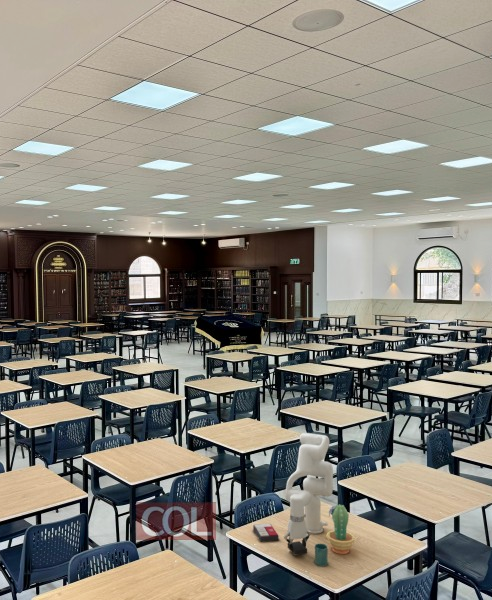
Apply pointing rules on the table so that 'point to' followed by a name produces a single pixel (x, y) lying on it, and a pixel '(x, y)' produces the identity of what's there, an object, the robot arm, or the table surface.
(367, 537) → the table surface
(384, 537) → the table surface
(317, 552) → the cup
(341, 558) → the table surface
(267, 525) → the calculator
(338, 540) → the potted cactus
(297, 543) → the black box
